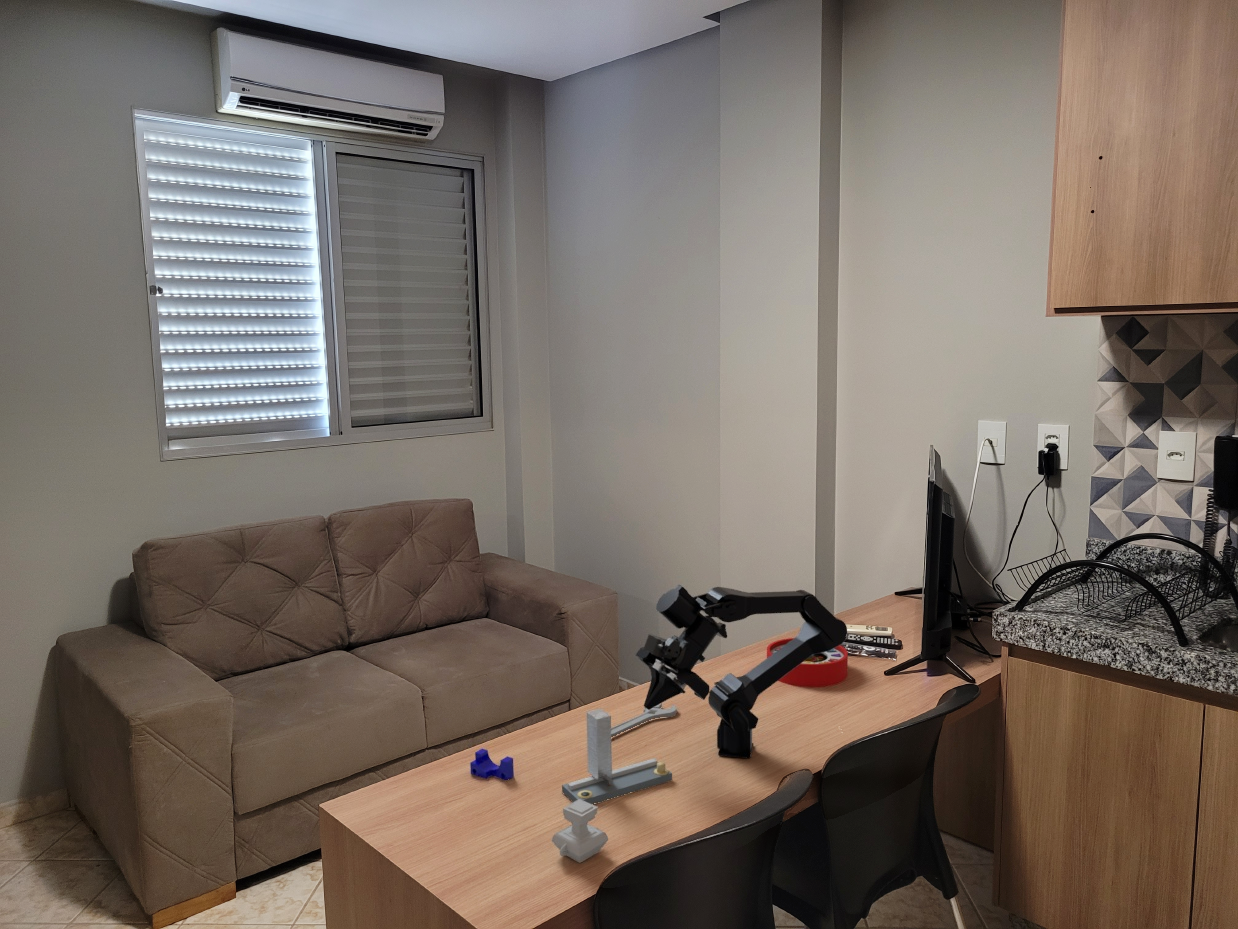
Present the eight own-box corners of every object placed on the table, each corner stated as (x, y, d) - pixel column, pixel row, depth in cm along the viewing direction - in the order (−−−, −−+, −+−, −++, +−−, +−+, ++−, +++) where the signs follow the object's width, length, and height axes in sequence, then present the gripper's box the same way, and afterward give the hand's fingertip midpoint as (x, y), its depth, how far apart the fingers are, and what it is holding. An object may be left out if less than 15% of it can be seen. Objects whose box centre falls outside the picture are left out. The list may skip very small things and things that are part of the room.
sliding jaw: (601, 771, 171) (600, 708, 169) (618, 785, 166) (617, 720, 164) (587, 775, 170) (586, 711, 168) (604, 789, 164) (603, 723, 162)
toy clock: (828, 670, 211) (752, 654, 223) (828, 694, 212) (752, 677, 224) (859, 646, 227) (787, 632, 239) (859, 668, 228) (787, 654, 240)
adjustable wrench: (595, 749, 186) (594, 741, 186) (576, 739, 191) (575, 731, 191) (681, 715, 202) (681, 707, 202) (661, 706, 207) (661, 699, 207)
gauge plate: (652, 766, 177) (652, 751, 177) (672, 780, 171) (672, 765, 171) (562, 792, 167) (561, 777, 167) (579, 809, 161) (579, 792, 161)
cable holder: (470, 774, 175) (469, 755, 175) (482, 767, 178) (482, 748, 178) (502, 785, 171) (501, 765, 170) (513, 777, 174) (513, 758, 173)
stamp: (585, 836, 152) (584, 789, 151) (613, 850, 148) (613, 802, 147) (546, 858, 146) (545, 810, 145) (574, 874, 141) (573, 824, 140)
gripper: (643, 607, 181) (596, 670, 177) (696, 632, 165) (646, 702, 161) (675, 638, 186) (631, 700, 182) (730, 665, 170) (682, 734, 166)
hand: (646, 708), depth 172 cm, fingers closed
